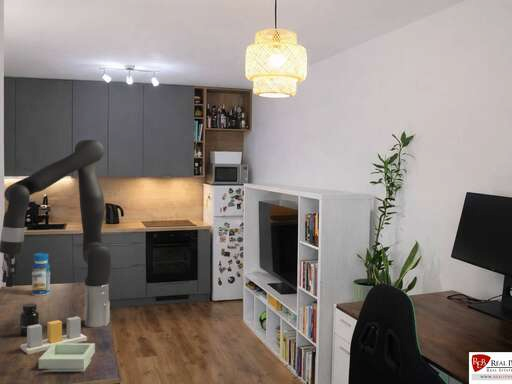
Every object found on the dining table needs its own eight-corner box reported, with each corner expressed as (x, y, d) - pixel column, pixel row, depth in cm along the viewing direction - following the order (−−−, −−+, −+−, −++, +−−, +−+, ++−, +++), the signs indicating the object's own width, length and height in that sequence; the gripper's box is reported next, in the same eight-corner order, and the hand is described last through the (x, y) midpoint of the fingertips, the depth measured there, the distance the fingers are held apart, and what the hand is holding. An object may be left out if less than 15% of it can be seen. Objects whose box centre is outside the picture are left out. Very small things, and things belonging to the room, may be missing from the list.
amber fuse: (58, 341, 183) (58, 320, 182) (61, 344, 181) (62, 322, 180) (47, 344, 180) (47, 322, 179) (50, 346, 178) (50, 324, 177)
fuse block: (78, 337, 190) (78, 332, 190) (86, 342, 185) (87, 336, 185) (20, 351, 175) (20, 344, 175) (27, 357, 170) (27, 350, 170)
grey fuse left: (38, 346, 178) (38, 324, 177) (42, 348, 176) (42, 326, 175) (27, 348, 175) (27, 326, 175) (30, 351, 173) (30, 328, 172)
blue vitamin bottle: (53, 293, 252) (53, 253, 251) (38, 297, 245) (38, 256, 243) (43, 290, 256) (43, 252, 255) (28, 294, 249) (28, 254, 248)
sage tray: (94, 354, 174) (94, 343, 174) (83, 371, 160) (83, 359, 160) (53, 354, 173) (53, 343, 173) (38, 371, 159) (38, 359, 159)
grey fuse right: (77, 337, 188) (77, 316, 187) (80, 339, 185) (80, 318, 185) (66, 339, 185) (66, 318, 184) (70, 342, 183) (70, 320, 182)
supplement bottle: (17, 339, 186) (17, 307, 186) (21, 333, 193) (21, 302, 192) (37, 338, 188) (37, 306, 188) (40, 332, 195) (40, 302, 194)
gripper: (26, 242, 178) (21, 288, 177) (19, 237, 189) (15, 280, 189) (3, 241, 173) (-2, 288, 173) (-3, 237, 185) (-7, 280, 185)
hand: (7, 284), depth 181 cm, fingers open, 8 cm apart
